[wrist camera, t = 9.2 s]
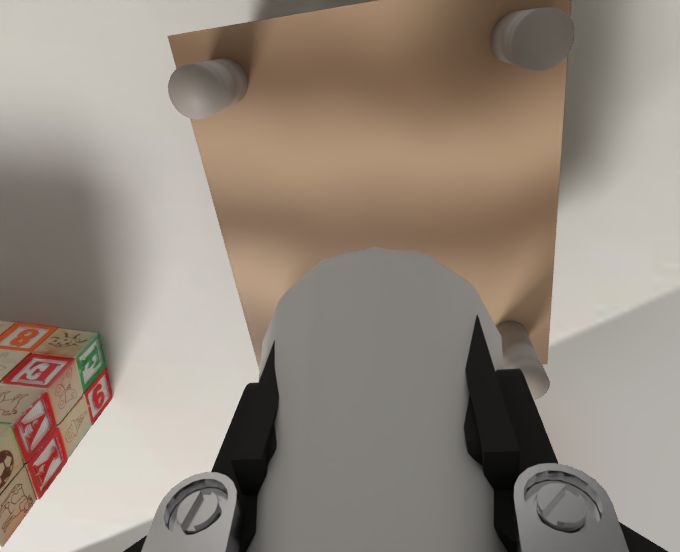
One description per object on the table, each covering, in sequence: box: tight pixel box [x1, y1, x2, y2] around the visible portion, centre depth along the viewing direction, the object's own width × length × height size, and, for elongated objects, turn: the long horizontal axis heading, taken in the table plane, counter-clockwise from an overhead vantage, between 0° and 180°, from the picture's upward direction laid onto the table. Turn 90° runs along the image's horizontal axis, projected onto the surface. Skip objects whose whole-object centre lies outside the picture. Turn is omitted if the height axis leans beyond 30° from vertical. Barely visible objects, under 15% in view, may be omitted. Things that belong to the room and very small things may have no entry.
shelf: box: [168, 0, 574, 400], centre depth 22 cm, size 16×14×11 cm
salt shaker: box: [246, 247, 508, 552], centre depth 8 cm, size 6×6×13 cm
